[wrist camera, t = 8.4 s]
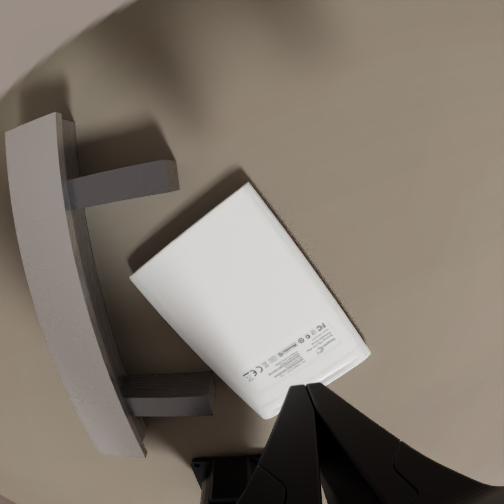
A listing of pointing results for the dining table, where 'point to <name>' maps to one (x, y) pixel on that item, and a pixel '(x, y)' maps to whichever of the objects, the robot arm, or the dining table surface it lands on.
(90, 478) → the dining table surface
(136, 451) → the grey door handle
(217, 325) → the external hard drive
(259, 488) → the robot arm
